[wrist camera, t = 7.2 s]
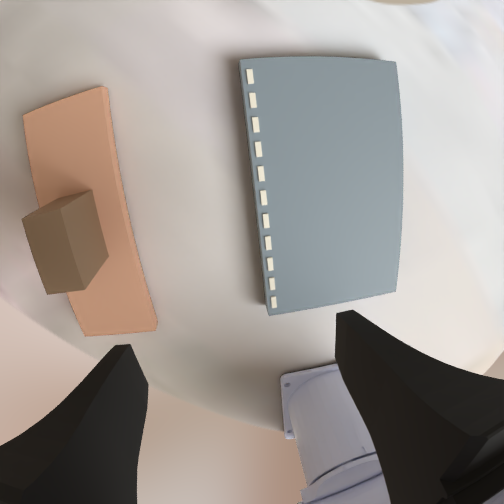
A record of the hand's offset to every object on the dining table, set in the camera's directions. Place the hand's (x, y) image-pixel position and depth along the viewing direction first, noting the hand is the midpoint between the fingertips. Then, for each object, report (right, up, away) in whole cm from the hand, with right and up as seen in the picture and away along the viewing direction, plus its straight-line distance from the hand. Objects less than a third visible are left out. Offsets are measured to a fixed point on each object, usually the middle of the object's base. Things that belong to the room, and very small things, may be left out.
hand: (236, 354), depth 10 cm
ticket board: (+5, +7, +8) cm, 12 cm away
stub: (-9, +5, +7) cm, 13 cm away
